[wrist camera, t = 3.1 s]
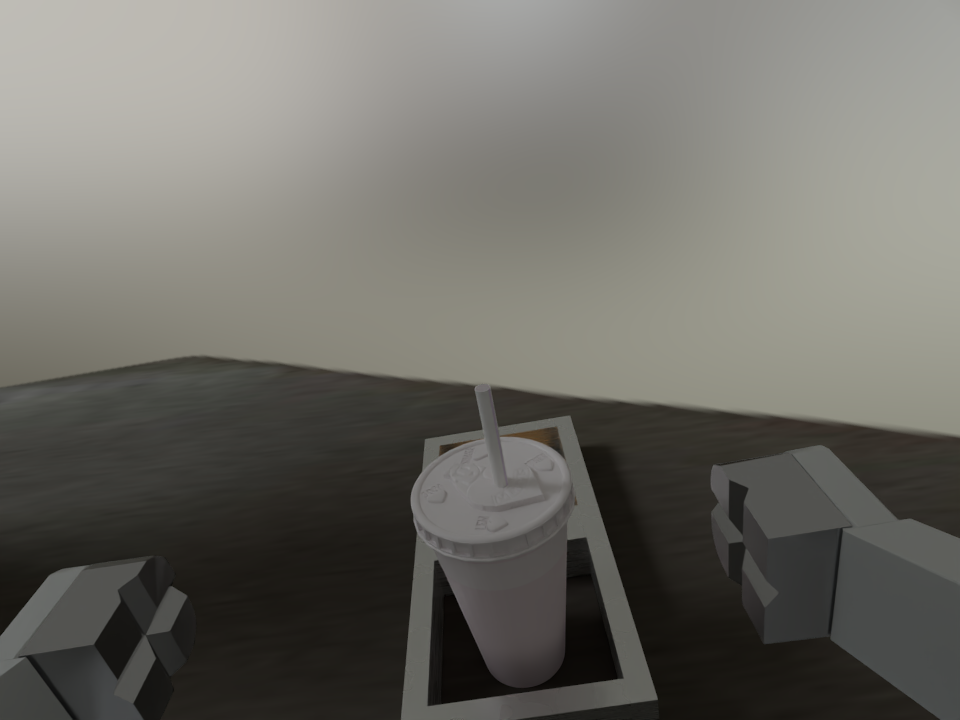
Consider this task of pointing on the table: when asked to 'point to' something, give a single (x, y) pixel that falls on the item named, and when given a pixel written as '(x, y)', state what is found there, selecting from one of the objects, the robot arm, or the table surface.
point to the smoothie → (502, 544)
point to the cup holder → (587, 707)
